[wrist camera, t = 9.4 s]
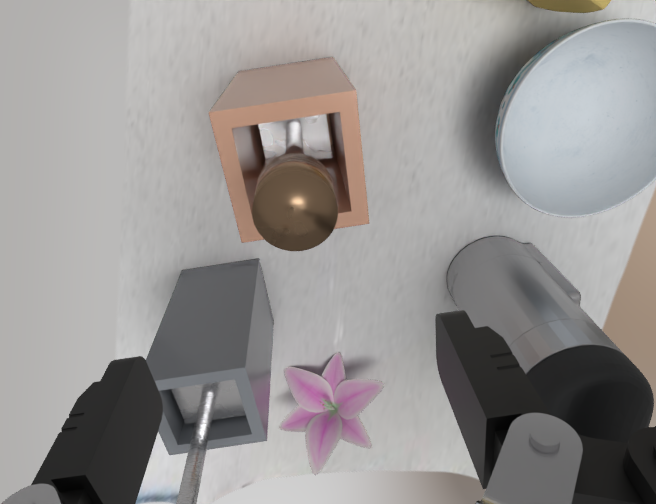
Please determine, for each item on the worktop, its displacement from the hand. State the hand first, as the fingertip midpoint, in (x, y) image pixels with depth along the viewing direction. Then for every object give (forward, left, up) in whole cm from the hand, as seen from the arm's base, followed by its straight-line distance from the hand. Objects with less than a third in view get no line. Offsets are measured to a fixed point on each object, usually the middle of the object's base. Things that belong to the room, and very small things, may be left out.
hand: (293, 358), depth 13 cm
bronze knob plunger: (0, 0, -26) cm, 26 cm away
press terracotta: (0, 0, -32) cm, 32 cm away
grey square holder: (+10, +18, -32) cm, 38 cm away
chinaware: (-23, +3, -32) cm, 40 cm away
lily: (+1, +32, -32) cm, 45 cm away
